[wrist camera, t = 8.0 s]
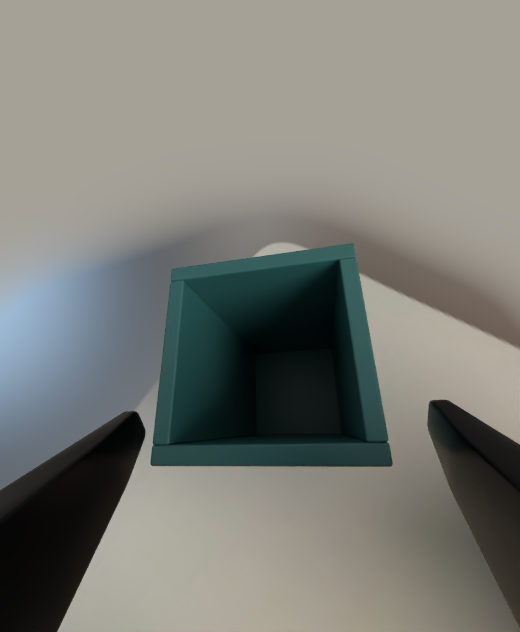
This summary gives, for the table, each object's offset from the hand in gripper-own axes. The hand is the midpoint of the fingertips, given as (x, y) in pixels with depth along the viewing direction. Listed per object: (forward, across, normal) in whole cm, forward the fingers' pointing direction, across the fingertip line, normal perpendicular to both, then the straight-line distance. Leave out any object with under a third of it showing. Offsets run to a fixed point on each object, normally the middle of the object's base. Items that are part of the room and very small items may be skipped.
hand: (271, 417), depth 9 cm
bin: (+8, 0, +5) cm, 10 cm away
